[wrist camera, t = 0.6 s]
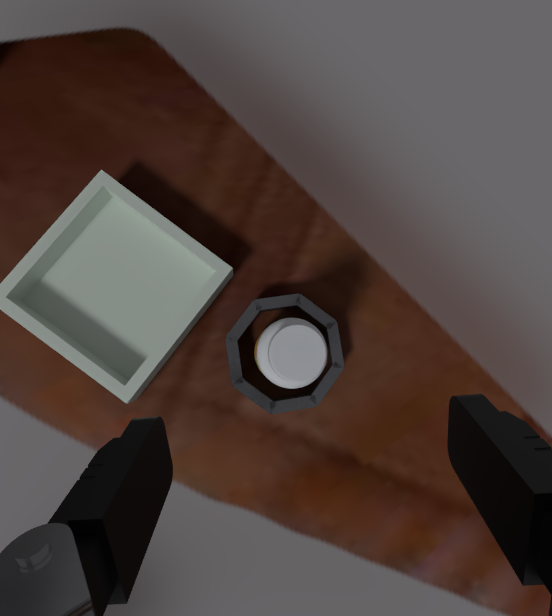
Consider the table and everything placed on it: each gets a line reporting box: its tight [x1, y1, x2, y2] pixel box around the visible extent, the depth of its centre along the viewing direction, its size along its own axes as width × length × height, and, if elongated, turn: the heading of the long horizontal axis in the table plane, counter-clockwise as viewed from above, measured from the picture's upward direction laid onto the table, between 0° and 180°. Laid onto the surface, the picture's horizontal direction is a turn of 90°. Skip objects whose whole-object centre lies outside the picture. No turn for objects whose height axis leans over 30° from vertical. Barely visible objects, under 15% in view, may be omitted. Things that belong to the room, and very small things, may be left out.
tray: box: [0, 170, 233, 404], centre depth 34 cm, size 14×14×3 cm
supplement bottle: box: [254, 318, 327, 389], centre depth 31 cm, size 5×5×10 cm
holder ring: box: [225, 294, 344, 414], centre depth 35 cm, size 10×10×2 cm
